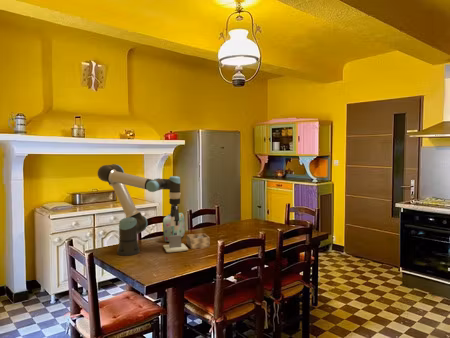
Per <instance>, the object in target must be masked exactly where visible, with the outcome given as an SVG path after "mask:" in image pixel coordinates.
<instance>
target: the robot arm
mask: <svg viewBox="0 0 450 338" xmlns="http://www.w3.org/2000/svg"><path fill="white" fill-rule="evenodd" d="M96 173H97V177H98V178H99V180H100V181H102V182H105V183H106V182H107V183H108V185H109V186H111V187H112V188H113V191H114V193H115V195H116V197H117V199H118V201H119V204H120V206H121V207H122V210H123V212H124V213H125V217H124V218H122V219H120V220H119V223H118V231H119V233H118V234H119V236H118V237H119V242H118V245H117V249H116V253H117V255H119V256H123V257H124V256H133V255H134V256H135V255H137V254H139V253H140V252H141V251H140V245H139V243H138V237H137V236H138V234H140V233H143V232H144V231H145V230H146V228H147V227H148V219H147V218H146V217H145V216H144V215H142V213H141V211H138V209H137V207H136V205H135V203H134V201H133V198H132V197H131V194H130V193H129V190H128V188H127V186H130V187H134V188H138V189H142V190H143V189H144V190H146V191H148V192H149V193H154V192H155V193H156V192H157V191H161V190H169V193H168V197H169V205H171V206H170V215H171V226H174V230H178V227H179V213H180V210H179V206H178V205H180V204H181V195H182V193H181V177H180V176H176V175H174V176H173V175H171V176H169V178H160V177H159V178H154V179H152V178H147V177H143V176H139V175H138V176H137V175H134V174H130V173H126V172H125V171H124V168H123V167H122V166H121V165H119V164H116V163H115V164H113V163H112V164H104V165H101V166H100V167H99V168H98V170H97V172H96Z"/></svg>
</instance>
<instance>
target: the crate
mask: <svg viewBox="0 0 450 338" xmlns="http://www.w3.org/2000/svg"><path fill="white" fill-rule="evenodd" d="M210 242H211V237H210V236H209V235H207V233H194V234H193V233H191V234H190V233H189V234H186V245H187V246H188V247H189V248H190V250H193V249H203V248H210V247H211V243H210Z"/></svg>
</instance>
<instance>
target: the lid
mask: <svg viewBox="0 0 450 338" xmlns="http://www.w3.org/2000/svg"><path fill="white" fill-rule="evenodd" d="M162 247H163V248H164V250H165V252H166V253H177V252H181V253H182V252H186V251H189V248H188V247H187V246H186V244H184V243H182V238H181V235H172V236H169V242H168V244H163V245H162Z"/></svg>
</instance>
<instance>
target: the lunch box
mask: <svg viewBox="0 0 450 338" xmlns="http://www.w3.org/2000/svg"><path fill="white" fill-rule="evenodd" d="M162 227H163V238H164V242H165V243H166V242H167V243H169V236H172V235H181V239H182V238H183V237H184V236H185V232H186V231H185V230H186V223H185V215H184V213H183V212H179V227H178V230H174V226H171V215H170V214H168V215H166V216H165V217H163V220H162Z"/></svg>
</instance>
